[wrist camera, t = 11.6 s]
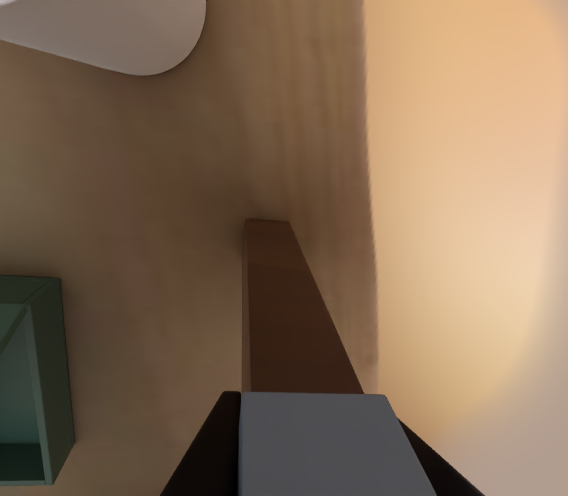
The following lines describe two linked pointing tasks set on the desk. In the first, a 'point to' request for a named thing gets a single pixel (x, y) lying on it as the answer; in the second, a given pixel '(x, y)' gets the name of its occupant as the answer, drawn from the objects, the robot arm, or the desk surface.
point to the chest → (34, 386)
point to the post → (287, 320)
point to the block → (324, 447)
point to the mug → (107, 31)
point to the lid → (10, 321)
